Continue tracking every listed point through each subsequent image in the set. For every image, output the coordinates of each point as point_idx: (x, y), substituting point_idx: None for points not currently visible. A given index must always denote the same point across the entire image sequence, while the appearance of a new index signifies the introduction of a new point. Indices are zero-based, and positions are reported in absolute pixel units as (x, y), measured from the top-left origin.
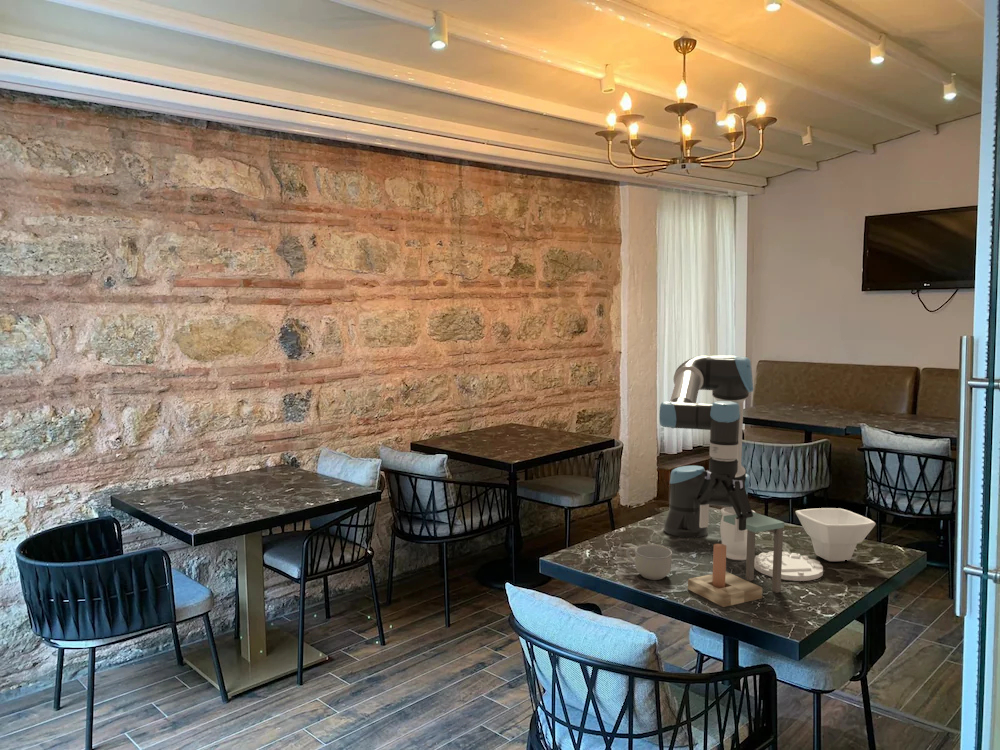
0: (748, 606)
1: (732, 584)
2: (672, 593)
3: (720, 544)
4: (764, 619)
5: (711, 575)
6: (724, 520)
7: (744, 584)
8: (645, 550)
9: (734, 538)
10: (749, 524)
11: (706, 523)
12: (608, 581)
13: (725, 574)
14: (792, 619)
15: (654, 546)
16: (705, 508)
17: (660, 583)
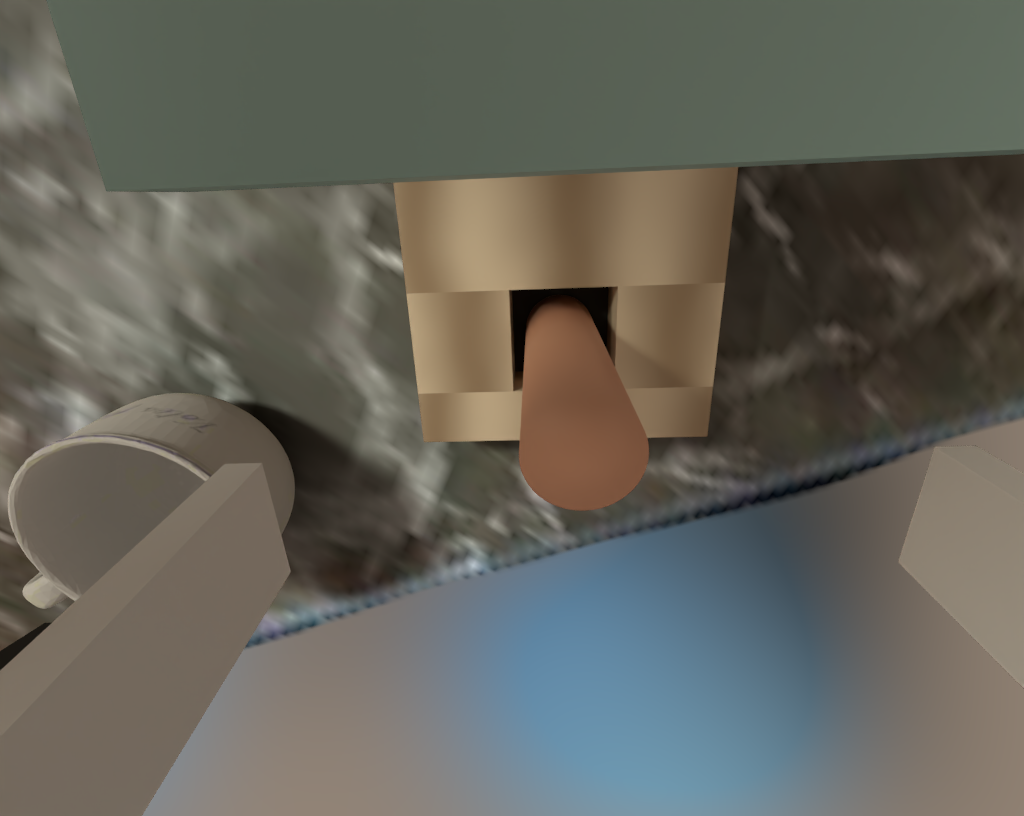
0: (753, 289)
1: (601, 266)
2: (453, 508)
3: (554, 426)
4: (908, 334)
5: (423, 282)
6: (204, 190)
7: (639, 190)
8: (53, 511)
9: (926, 589)
10: (998, 95)
11: (243, 526)
12: (249, 643)
13: (600, 338)
14: (1015, 192)
15: (31, 478)
16: (50, 813)
17: (326, 484)
